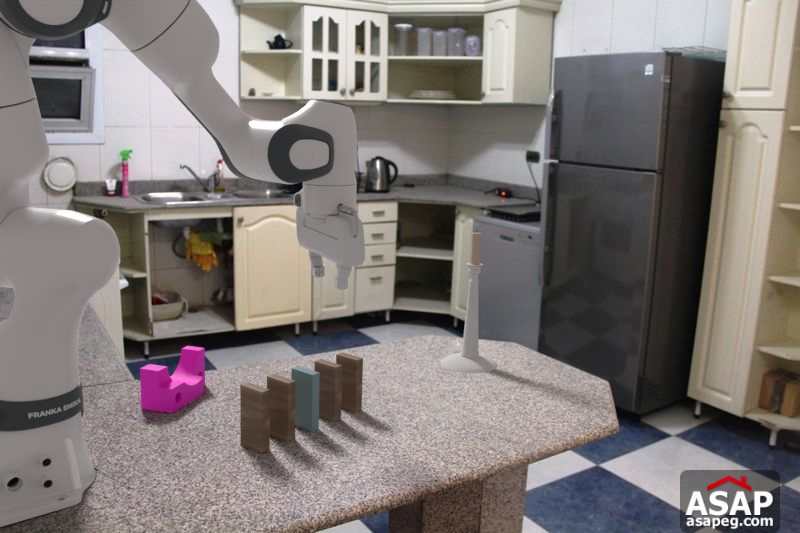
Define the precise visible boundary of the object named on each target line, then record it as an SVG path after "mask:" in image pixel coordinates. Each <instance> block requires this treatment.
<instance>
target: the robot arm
mask: <svg viewBox="0 0 800 533" xmlns="http://www.w3.org/2000/svg"><path fill="white" fill-rule="evenodd" d="M96 24H99V25H101V26H102V27H104V28H105V29H106V30H108V31H109V32H110V33H112V34H113V35H114V36H115V37H116V38H117V39H118V40H119V41H120V43H121V44H123V45H124V47H126V48H127V49H128V50H129V52H131V53H132V55H133V56H134V57H136V58H137V59H138V60H139V61H140V62H141V63H142V64H143V65H144V66H145V67H146V68H147V69H149V71H150V72H152V74H154V75H155V76H156V77H157V78H158V79H159V80H160V81H161V82H162V83H163V84H164V85H165V86H166V87H167V88H168V89H169V90H170V91H171V93H172V94H173V95H174V96H175V97H176V98H177V100H178V101H179V102H180V103H181V104H182V105H183V106H184V108H186V110H187V111H188V112H189V113H190V114H191V115H192V116H193V117H194V119H196V121H197V122H198V123H199V124H200V125H201V126H202V128H203V129H204V130H205V131H206V132H207V133H208V134H209V136H210V137H211V138H212V139H213V141H214V143H215V145H216V146H217V149H218V150H219V153H220V155H221V158H222V160H223V161H224V164H225V165H226V167H227V168H228V169H229V171H230V172H231V173H232V174H233V175H234V176H235V177H237V178H239V179H242V180H244V181H254V182H255V181H256V182H257V181H263V182H270V183H275V184H283V185H295V184H300V183H302V188H301V189H300V190H299V191H298V192H295V194H293V205H294V207H295V208H296V211H295V224H296V225H295V227H296V236H297V242H298V245H299V246H300V247H301V248H304V249H305V250H308V257H309V262H310V264H311V275H312V277H315V278H324V277H325V275H326V274H325V272H326V271H325V269H326V268H325V266H324V265H323V258H325V259H326V260H329V261H331V262H333V263H336V270H337V274H336V276H335V277H333V278H334V285H333V286H334V288H335V289H338V290H339V291H340V290H341V291H343V290H347V289H348V287H349V278H350V275H351V273H352V270H353V267H360V266H363V264H364V262H365V259H366V246H365V230H364V224H363V222H362V220H361V219H360V217H359V215H357V213H356V211H357V177H356V172H355V167H356V162H357V158H358V134H357V131H358V130H357V123H356V117H355V114H354V112H353V109H352V108H351V107H350V106H348V104H345V103H343V102H339V101H337V100H336V101H335V100H327V99H321V98H320V99H317V98H316V99H315V98H314V99H310V100H308V101H307V102H306V104H305V105H304V106H303V107H302V108H300V109H299V110H298V111H296V112H293V114H290V115H288V116H287V117H283V118H282V119H281V120H271V119H270V120H268V119H267V120H265V119H261V118H257V117H254V116H252V115H250V114H248V113H246V112H245V111H243V110H242V109H241V108H240V107H239V105H238V104H237V103H236V102H235V100H233V98H232V96H230V95H229V93H228V91H226V89H225V88H224V87H223V86H222V85H221V83H220V82H219V81H218V79H216V77H215V75H214V73H213V68H212V67H213V66H214V64H215V63H216V61H217V59H218V57H219V52H220V33H219V31H218V29H217V27H216V25H215V23H214V21H213V20H212V18H211V16H210V15H209V14H208V12H207V11H206V10H205V8H204V7H203V6H202V5H201V4H200V3H199V1H198V0H0V288H8V289H13V293H14V299H13V304H12V309H11V312H10V315H9V317H8V318H6V319H3V320H2V321H0V528H2V527H5V526H8V525H12V524H16V523H19V522H22V521H26V520H28V519H29V520H30V519H33V518H35V517H39V516H42V515H46V514H50V513H53V512H56V511H60V510H63V509H66V508H71V507H74V506H76V505H78V504H80V503H81V502H82V499H83V495H84V493H85V491H86V490H88V488H89V487H90V486H91V485H92V483H94V481H95V479H96V474H97V472H96V470H95V467H94V465H93V463H92V460H91V456H90V452H89V450H88V446H87V441H86V437H85V432H84V425H83V416H84V411H85V410H84V408H85V407H84V406H85V405H84V392H83V383H82V381H81V380H80V379H79V376H80V375H79V333H80V326H81V322H82V318H83V317H84V316H83V315H84V313H85V310H86V308H87V306H88V304H89V303H90V301H91V300H92V298H93V297H94V296H95V295H96V294H97V293H98V292H100V290H102V289H103V288H104V287H106V286H107V285H108V284H109V283H110V282H111V280H112V279H113V277H114V276H115V274H116V273H117V270H118V268H119V265H120V261H121V246H120V242H119V238H118V236H117V235H118V234H116V232H115V230H114V229H113V227H112V226H111V224H110V223H108V222H107V221H106V220H103V219H101V218H98V217H95V216H92V215H89V214H86V213H83V212H79V211H77V210H70V209H59V208H45V207H34V206H33V204H32V202H31V200H30V181H31V179H32V178H34V177H35V176H36V175H37V174H38V173H39V172H41V171H42V169H44V167H45V166H46V165H47V163H48V160H49V157H50V147H49V143H48V139H47V135H46V130H45V126H44V123H43V119H42V118H43V117H42V115H41V111H40V110H41V109H40V107H39V102H38V99H37V93H36V90H35V86H34V83H33V79H32V76H31V71H30V69H31V68H30V53H31V49H32V46H33V44H34V43H35V42H36V40H44V41H60V40H64V39H67V38H71V37H73V36H75V35H78V34H79V33H81V32H83V31H85V30H86V29H89V28H91V27H92V26H95V25H96Z"/></svg>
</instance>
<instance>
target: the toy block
mask: <svg viewBox="0 0 800 533" xmlns="http://www.w3.org/2000/svg"><path fill="white" fill-rule="evenodd" d="M205 350H206V349H205V347H201V346H200V347H199V346H193V345H192V346H191V345H186V346H184V347H182V348H181V354H180V358H179V362H178V365H177V367H176V369H175V371H174V372H173V373H172V374H171V376H170V372H169V367H168V366H166V365H158V364H153V363H152V364H151V363H149V364H146V365H144V366H142V367H140V368H139V374H140V375H139V377H140V378H139V379H140V381H139V382H140V409H141V410H147V411H151V412H158V411H159V413H164V412H167V413H166V414H170V413H172V414H174V413H176V412H177V411H179V410H180V409H179V408H181V407H182V408H184V407H185V406H186V405H185V404H187V403H189V402H190V401H192V400H193V401H195V400H196V399H195V398H197V397H198V396H200V395H201V396H203V395H204V394H203V393H204V386H205V385H206V367H205V366H206V361H205V359H206V358H205V355H206V352H205ZM204 384H205V385H204ZM202 394H203V395H202ZM201 396H200V397H201ZM198 398H199V397H198ZM198 398H197V399H198ZM194 399H195V400H194ZM193 401H192V402H193ZM190 403H191V402H190ZM190 403H189V404H190ZM184 405H185V406H184ZM187 405H188V404H187ZM183 406H184V407H183ZM182 408H181V409H182ZM178 409H179V410H178ZM176 410H177V411H176ZM175 411H176V412H175ZM173 412H174V413H173Z"/></svg>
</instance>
